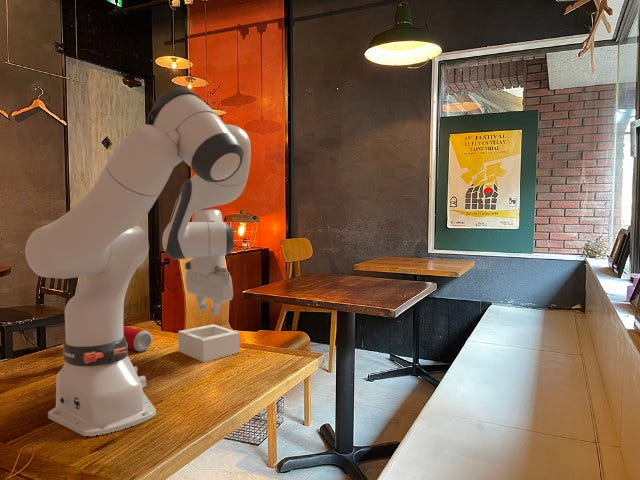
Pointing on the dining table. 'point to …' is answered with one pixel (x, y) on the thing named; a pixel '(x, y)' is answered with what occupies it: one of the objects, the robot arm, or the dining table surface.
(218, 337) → the white square frame
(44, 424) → the dining table surface
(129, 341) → the beverage can
